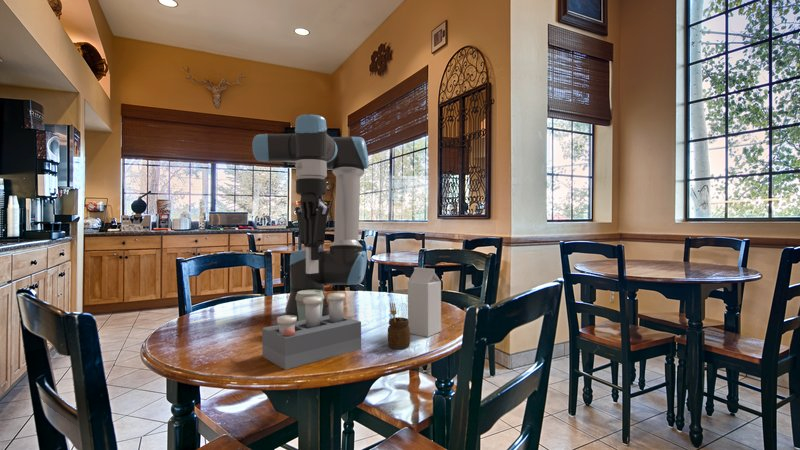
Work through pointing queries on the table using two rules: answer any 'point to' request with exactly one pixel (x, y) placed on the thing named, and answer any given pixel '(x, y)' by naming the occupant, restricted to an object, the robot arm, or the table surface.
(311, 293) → the coffee cup
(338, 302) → the knob far
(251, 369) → the table surface
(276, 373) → the table surface
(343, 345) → the grey tube rack
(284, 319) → the white capped tube
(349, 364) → the table surface
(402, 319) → the utensil holder
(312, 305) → the knob middle
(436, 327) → the milk carton
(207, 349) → the table surface
